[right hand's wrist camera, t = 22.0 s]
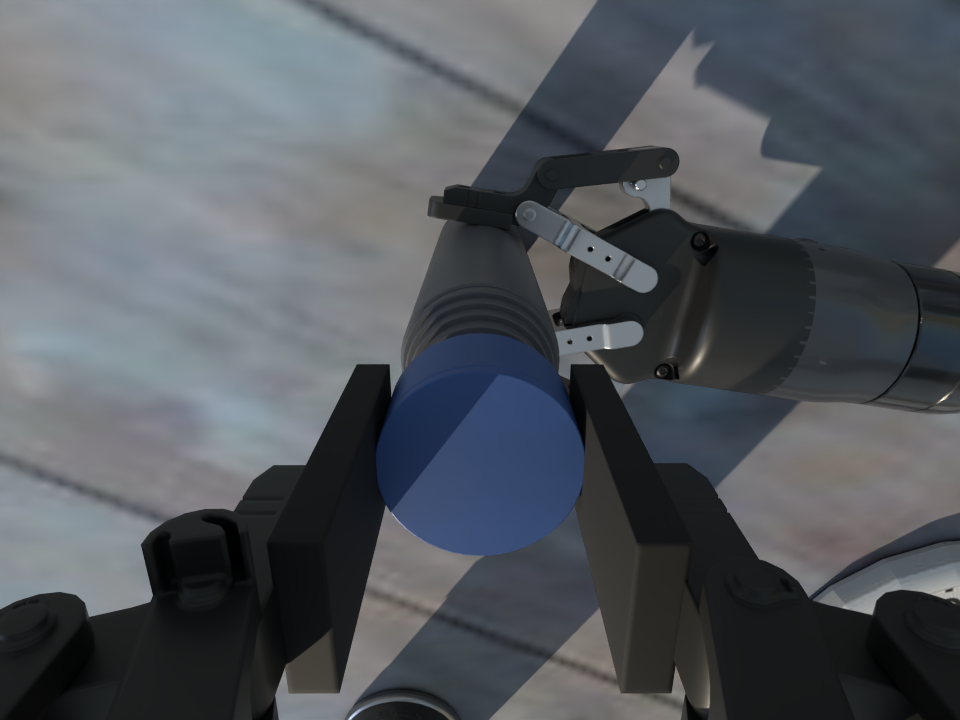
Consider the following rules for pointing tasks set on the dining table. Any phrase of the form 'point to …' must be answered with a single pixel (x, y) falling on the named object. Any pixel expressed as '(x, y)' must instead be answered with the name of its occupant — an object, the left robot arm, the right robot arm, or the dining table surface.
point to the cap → (480, 446)
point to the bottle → (480, 293)
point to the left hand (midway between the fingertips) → (423, 264)
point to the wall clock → (900, 578)
